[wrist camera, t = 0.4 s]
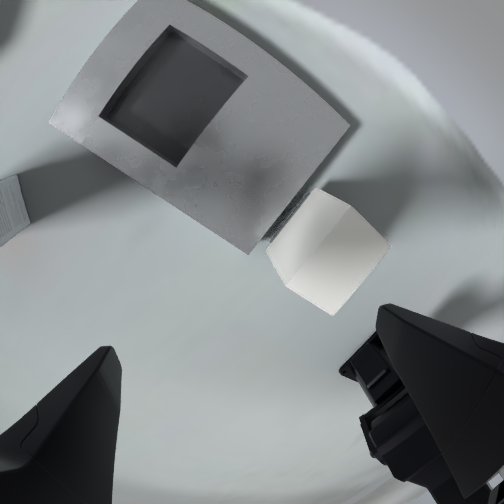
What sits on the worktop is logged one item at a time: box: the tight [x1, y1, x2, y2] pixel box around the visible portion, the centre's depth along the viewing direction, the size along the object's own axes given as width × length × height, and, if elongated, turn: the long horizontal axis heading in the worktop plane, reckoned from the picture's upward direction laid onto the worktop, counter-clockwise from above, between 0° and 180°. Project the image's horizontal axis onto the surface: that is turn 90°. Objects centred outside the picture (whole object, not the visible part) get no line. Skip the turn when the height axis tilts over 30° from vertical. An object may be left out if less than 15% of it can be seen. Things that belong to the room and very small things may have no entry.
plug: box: [265, 187, 391, 316], centre depth 19 cm, size 4×6×6 cm
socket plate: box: [48, 0, 351, 255], centre depth 17 cm, size 16×11×2 cm
